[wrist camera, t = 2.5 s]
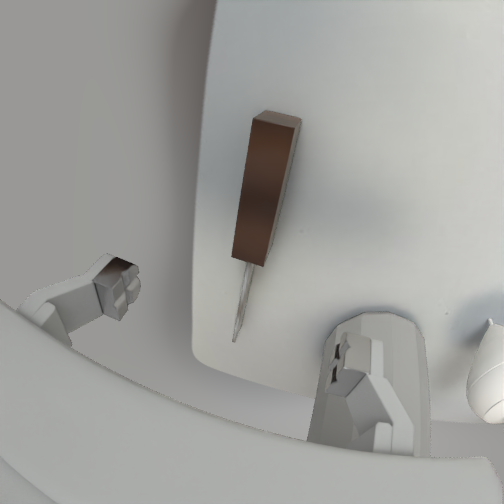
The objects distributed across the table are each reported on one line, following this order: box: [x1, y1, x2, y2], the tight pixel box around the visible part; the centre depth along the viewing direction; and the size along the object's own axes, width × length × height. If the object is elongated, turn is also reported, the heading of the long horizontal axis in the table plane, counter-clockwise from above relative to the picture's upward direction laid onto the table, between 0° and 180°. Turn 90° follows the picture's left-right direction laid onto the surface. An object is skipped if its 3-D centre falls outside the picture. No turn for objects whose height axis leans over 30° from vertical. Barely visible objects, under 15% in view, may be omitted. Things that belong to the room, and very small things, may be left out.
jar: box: [307, 312, 431, 457], centre depth 20 cm, size 10×10×18 cm
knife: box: [231, 110, 302, 342], centre depth 23 cm, size 21×2×3 cm, turn 171°
